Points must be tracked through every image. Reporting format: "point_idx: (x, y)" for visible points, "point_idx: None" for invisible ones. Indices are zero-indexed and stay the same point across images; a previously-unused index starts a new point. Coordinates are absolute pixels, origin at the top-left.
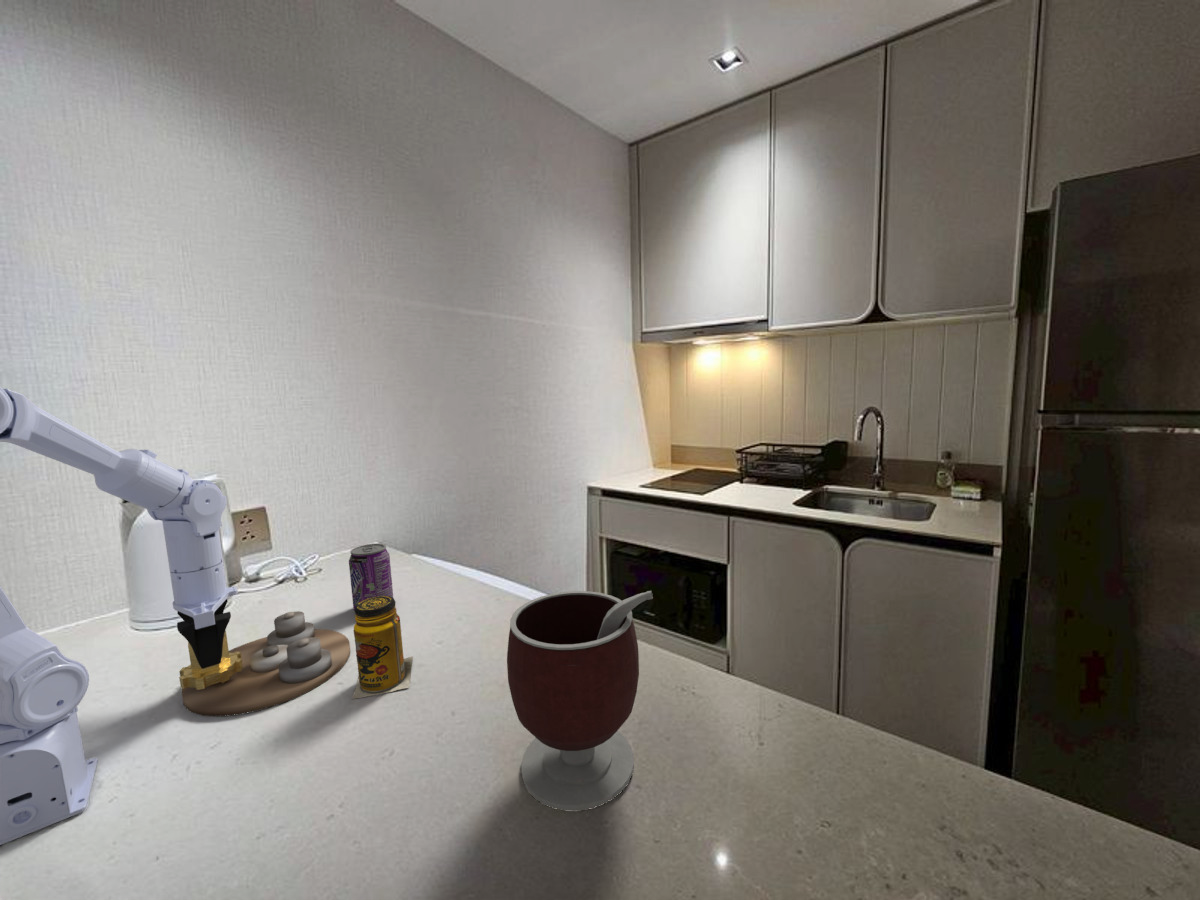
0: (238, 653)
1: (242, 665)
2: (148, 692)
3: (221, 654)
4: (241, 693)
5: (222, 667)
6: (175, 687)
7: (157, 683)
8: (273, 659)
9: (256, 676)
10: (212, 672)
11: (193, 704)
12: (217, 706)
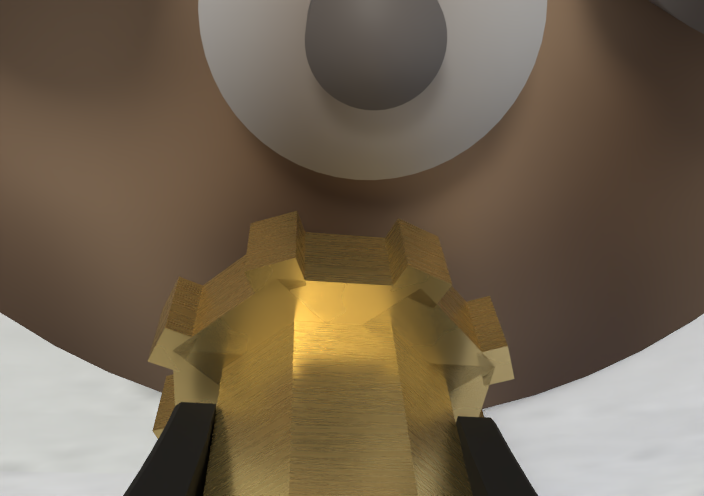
0: (295, 271)
1: (406, 233)
2: (108, 464)
3: (519, 467)
4: (638, 238)
5: (444, 367)
6: (140, 397)
7: (30, 440)
8: (521, 38)
9: (496, 136)
10: (459, 408)
11: (513, 400)
12: (653, 336)
